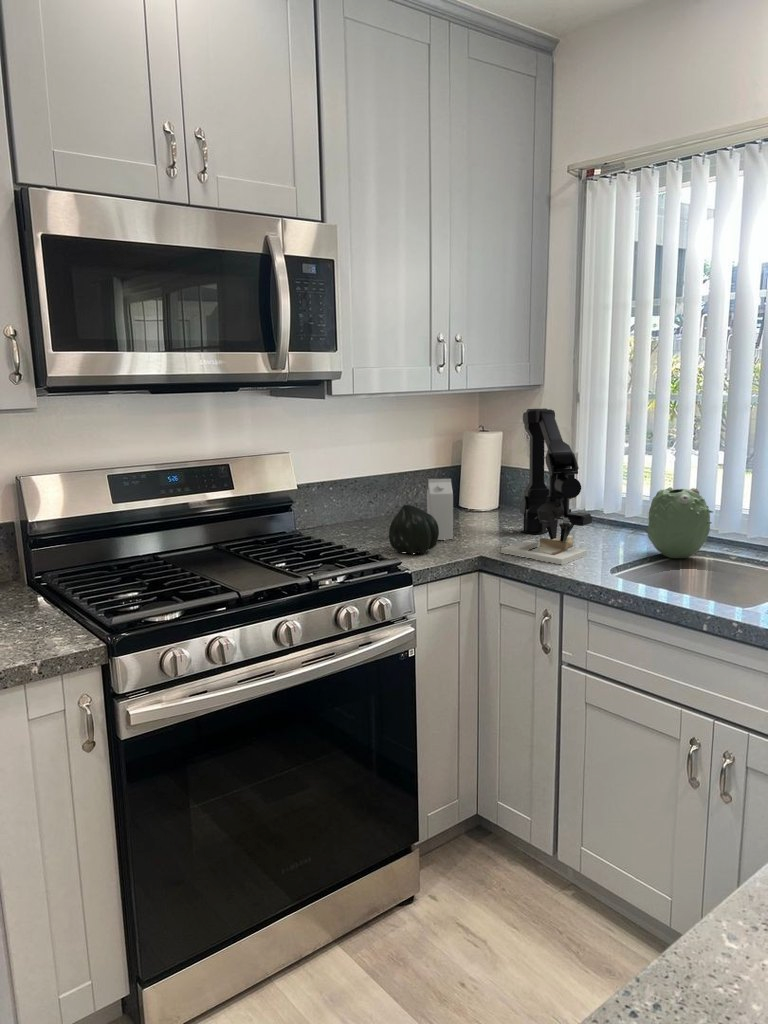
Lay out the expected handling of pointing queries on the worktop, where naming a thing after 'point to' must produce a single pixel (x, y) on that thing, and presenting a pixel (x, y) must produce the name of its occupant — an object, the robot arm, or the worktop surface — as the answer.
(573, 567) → the worktop surface
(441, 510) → the milk carton
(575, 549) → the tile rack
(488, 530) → the worktop surface
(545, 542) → the wooden pusher
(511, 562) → the worktop surface
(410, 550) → the squash
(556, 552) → the pale beige block
